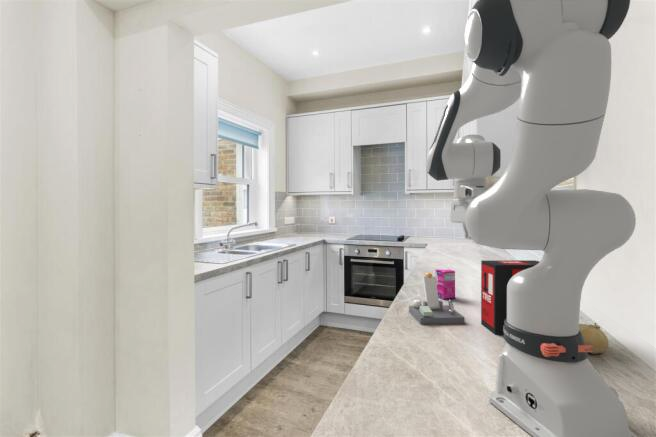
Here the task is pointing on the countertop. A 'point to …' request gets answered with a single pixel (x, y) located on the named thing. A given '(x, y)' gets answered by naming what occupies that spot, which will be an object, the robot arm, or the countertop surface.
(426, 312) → the rocker
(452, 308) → the toggle
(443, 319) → the panel
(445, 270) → the supplement box
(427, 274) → the lever
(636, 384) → the countertop surface
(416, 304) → the button
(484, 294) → the cleaning product box
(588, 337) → the onion
